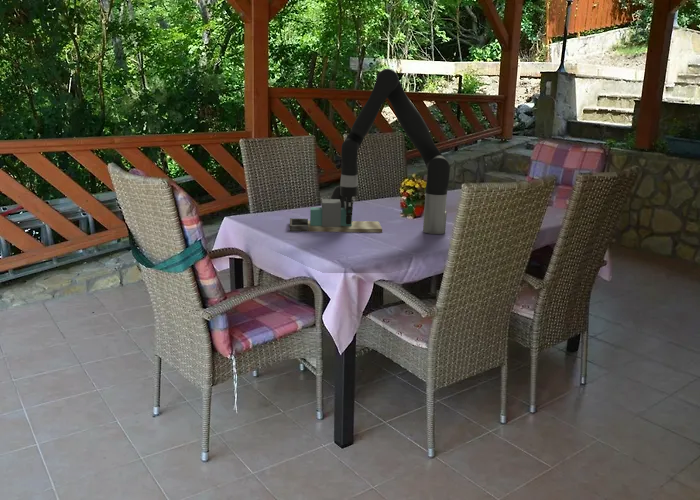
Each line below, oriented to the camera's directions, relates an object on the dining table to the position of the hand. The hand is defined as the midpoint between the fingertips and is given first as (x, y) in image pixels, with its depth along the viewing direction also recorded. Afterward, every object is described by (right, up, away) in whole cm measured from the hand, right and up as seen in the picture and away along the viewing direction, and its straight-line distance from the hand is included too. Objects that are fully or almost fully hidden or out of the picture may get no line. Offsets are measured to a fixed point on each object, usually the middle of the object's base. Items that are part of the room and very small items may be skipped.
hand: (347, 222), depth 278 cm
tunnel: (-7, -1, 0) cm, 8 cm away
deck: (-6, -3, 0) cm, 6 cm away
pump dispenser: (-4, +3, +20) cm, 20 cm away
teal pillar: (-7, -1, 0) cm, 8 cm away
